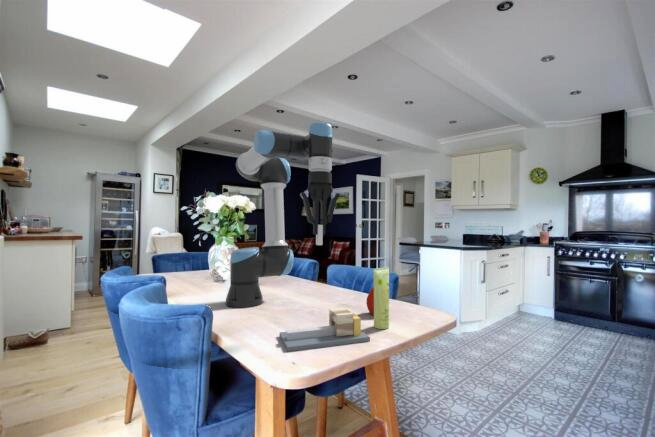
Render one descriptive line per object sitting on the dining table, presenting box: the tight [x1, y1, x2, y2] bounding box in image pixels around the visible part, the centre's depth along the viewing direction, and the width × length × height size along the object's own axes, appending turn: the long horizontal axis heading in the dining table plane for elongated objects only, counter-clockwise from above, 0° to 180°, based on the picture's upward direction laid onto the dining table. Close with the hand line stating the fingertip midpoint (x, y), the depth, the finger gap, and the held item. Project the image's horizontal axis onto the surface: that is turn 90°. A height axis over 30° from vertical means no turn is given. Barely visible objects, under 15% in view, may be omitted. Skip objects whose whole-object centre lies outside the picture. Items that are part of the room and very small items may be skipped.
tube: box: [373, 266, 390, 330], centre depth 103 cm, size 6×5×20 cm
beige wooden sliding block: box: [328, 307, 354, 337], centre depth 94 cm, size 7×5×6 cm
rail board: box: [279, 310, 371, 353], centre depth 93 cm, size 12×24×6 cm, turn 109°
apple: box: [366, 286, 374, 316], centre depth 118 cm, size 8×8×11 cm
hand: (319, 244), depth 102 cm, fingers closed
